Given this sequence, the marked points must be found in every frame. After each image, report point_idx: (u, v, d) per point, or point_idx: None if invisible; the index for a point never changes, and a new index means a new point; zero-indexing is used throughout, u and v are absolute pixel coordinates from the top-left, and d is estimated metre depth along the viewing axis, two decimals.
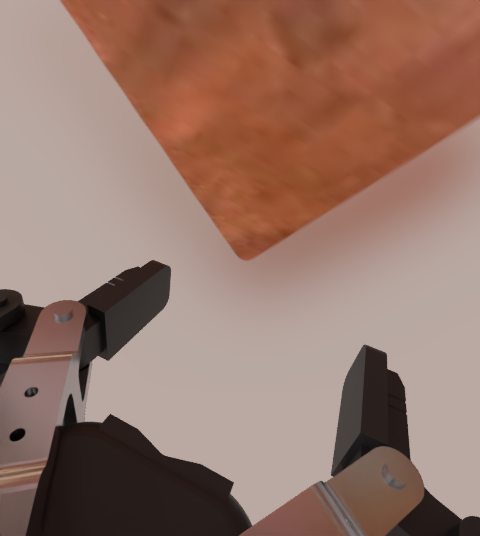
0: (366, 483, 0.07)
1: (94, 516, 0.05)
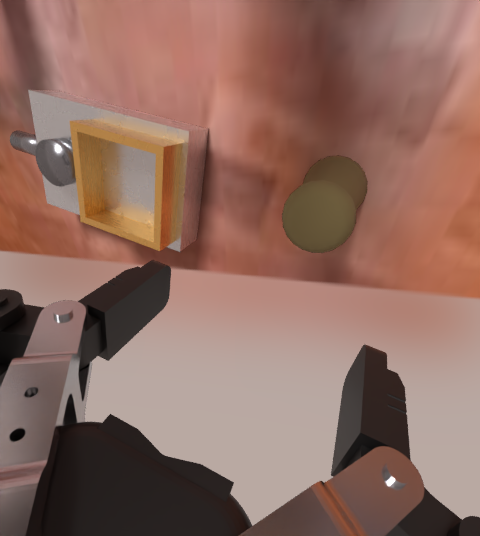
0: (366, 483, 0.07)
1: (94, 517, 0.05)
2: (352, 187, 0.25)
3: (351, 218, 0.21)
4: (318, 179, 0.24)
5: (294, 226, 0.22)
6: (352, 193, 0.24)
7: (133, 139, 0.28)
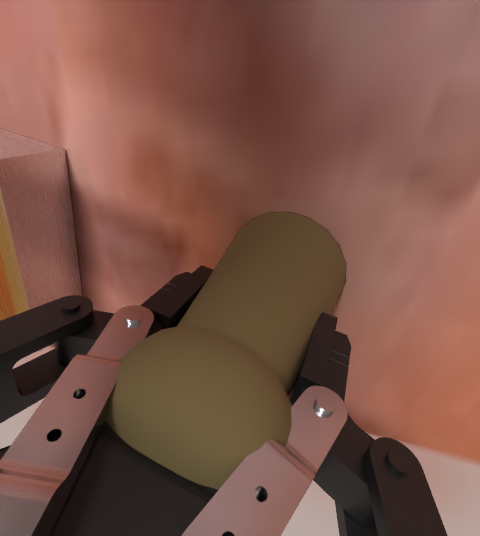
0: (297, 411, 0.08)
1: (94, 516, 0.05)
2: (302, 310, 0.10)
3: None
4: (216, 296, 0.10)
5: None
6: (300, 330, 0.10)
7: None
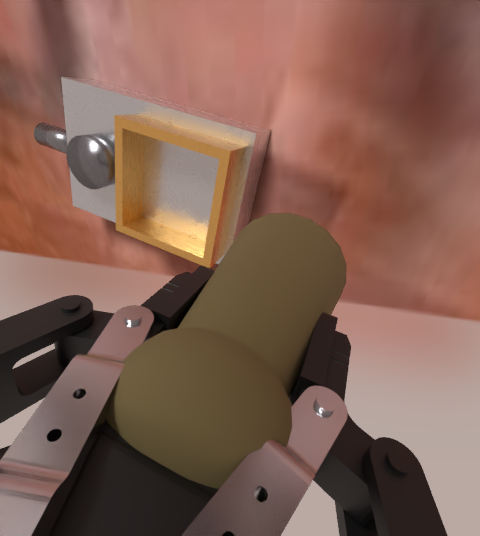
0: (297, 411, 0.08)
1: (94, 517, 0.05)
2: (302, 311, 0.10)
3: None
4: (217, 297, 0.10)
5: None
6: (300, 331, 0.10)
7: (193, 140, 0.24)
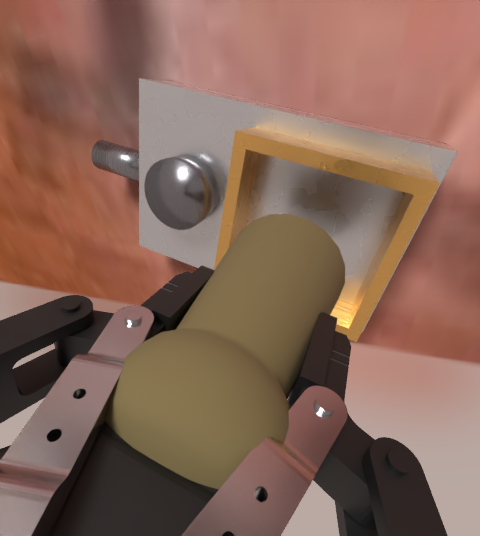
0: (297, 411, 0.08)
1: (94, 517, 0.05)
2: (301, 313, 0.10)
3: None
4: (215, 298, 0.10)
5: None
6: (299, 332, 0.10)
7: (370, 167, 0.15)
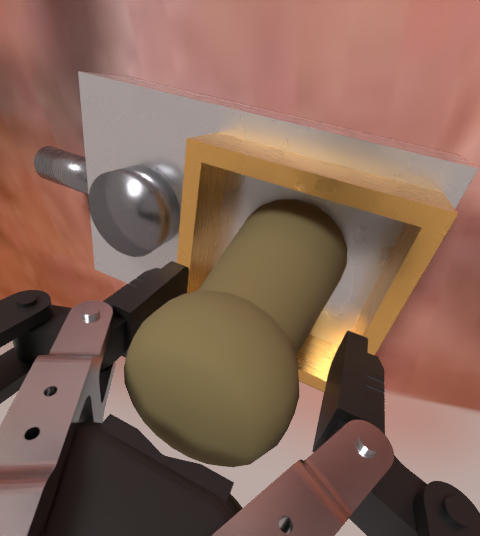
0: (339, 451, 0.07)
1: (94, 517, 0.05)
2: (306, 284, 0.11)
3: (279, 415, 0.08)
4: (230, 269, 0.11)
5: (142, 410, 0.09)
6: (305, 300, 0.11)
7: (362, 189, 0.11)
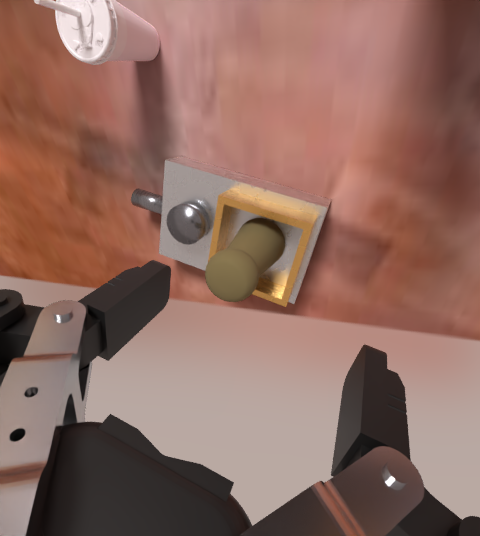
0: (366, 483, 0.07)
1: (94, 516, 0.05)
2: (263, 249, 0.32)
3: (252, 279, 0.28)
4: (236, 243, 0.31)
5: (211, 283, 0.29)
6: (262, 254, 0.31)
7: (283, 216, 0.32)
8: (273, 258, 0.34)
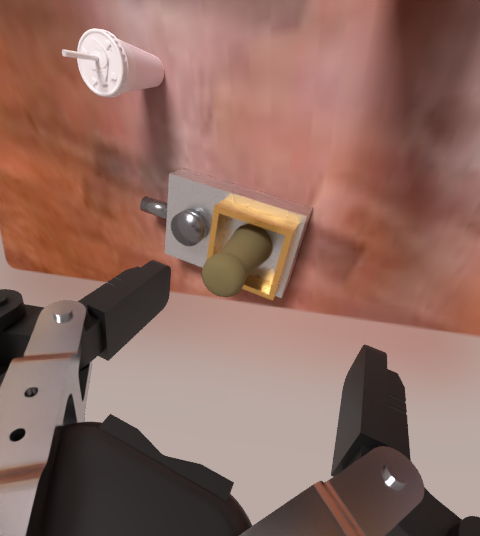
0: (366, 483, 0.07)
1: (94, 517, 0.05)
2: (251, 252, 0.38)
3: (239, 278, 0.34)
4: (228, 247, 0.37)
5: (207, 281, 0.35)
6: (250, 257, 0.37)
7: (268, 224, 0.38)
8: (261, 259, 0.40)
